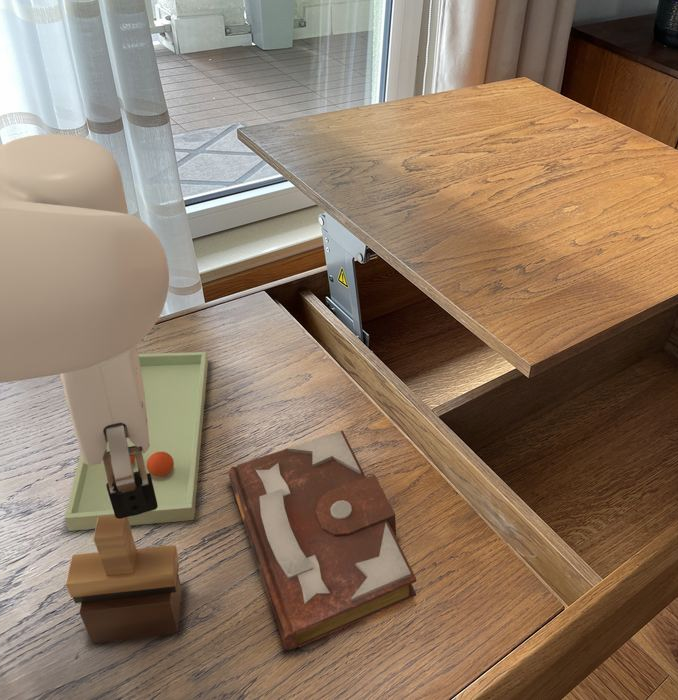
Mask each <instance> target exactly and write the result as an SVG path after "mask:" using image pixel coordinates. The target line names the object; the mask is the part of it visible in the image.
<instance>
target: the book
mask: <svg viewBox="0 0 678 700" xmlns="http://www.w3.org/2000/svg"><path fill="white" fill-rule="evenodd" d="M227 475H228V479H229V482H230V485H231V488H232V491H233V494H234V498H235V500H236V504H237V506H238V509H239V512H240V515H241V518H242V521H243V525H244V528H245V530H246V534H247V536H248V540H249V543H250V545H251V549H252V552H253V555H254V558H255V561H256V564H257V567H258V570H259V573H260V576H261V579H262V582H263V585H264V588H265V591H266V595H267V598H268V600H269V603H270V606H271V610H272V612H273V615H274V619H275V622H276V624H277V627H278V630H279V633H280V636H281V639H282V643H283V646H284V648H285V650H286V651H293V650H295V649H296V648H301V647H303V646H305V645H308V644H310V643H312V642H315V641H317V640H320V639H321V638H323V637H326V636H329V635H331V634H332V633H335V632H337V631H339V630H342V629H344V628H346V627H348V626H350V625H353V624H355V623H357V622H359V621H362V620H364V619H367V618H368V617H371V616H374V615H375V614H377V613H381V612H383V611H385V610H387V609H389V608H391V607H394V606H396V605H398V604H401V603H403V602H405V601H407V600H409V599H412V598H414V597H416V596H417V592H416V590H415V588H414V586H413V584H414V583H416V582H417V577H416V575H415V573H414V571H413V568H412V567H411V565H410V563H409V561H408V559H407V557H406V555H405V553H404V551H403V549H402V546H401V545H400V543H399V541H398V539H397V529H396V526H397V525H396V524H397V523H396V513H395V511H394V509H393V507H392V505H391V503H390V501H389V499H388V497H387V495H386V493H385V491H384V490H383V488H382V486H381V484H380V482H379V480H378V478H377V476H376V474H372V475H369V476H366V475H365V473H364V471H363V469H362V466H361V464H360V462H359V461H358V459H357V457H356V454H355V453H354V450H353V448H352V446H351V444H350V441H348V438H347V437H346V434H345V432H344V430H340V431H336V432H333V433H331V434H327V435H323V436H321V437H318V438H315V439H312V440H309V441H306V442H302V443H300V444H297V445H294V446H290V447H287V448H285V449H282V450H278V451H275V452H272V453H269V454H267V455H263V456H260V457H257V458H254V459H251V460H248V461H245V462H242V463H238V464H237V465H236V466H232V467H231V468H229V470H228V472H227Z"/></svg>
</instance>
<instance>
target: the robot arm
mask: <svg viewBox="0 0 678 700" xmlns="http://www.w3.org/2000/svg"><path fill="white" fill-rule="evenodd" d="M125 193H126V192H125V188H124V183H123V179H122V174H121V171H120V166H119V165H118V162H117V160H116V158H114V155H113V154H112V153H111V152H110V151H109V150H108V149H107V148H106V147H105V146H103V145H102V144H100V143H98V142H96V141H94V140H92V139H89V138H87V137H85V136H79V135H74V134H67V133H43V134H33V135H28V136H24V137H19V138H15V139H13V140H11V141H8V142H6V143H4V144H2V145H1V146H0V384H5V383H11V382H12V383H13V382H17V381H27V380H33V379H38V378H39V379H40V378H45V377H50V376H51V377H52V376H57V375H59V377H60V383H61V386H62V389H63V394H64V398H65V401H66V405H67V408H68V412H69V416H70V419H71V424H72V427H73V430H74V433H75V438H76V441H77V445H78V449H79V454H81V457H82V461H83V462H84V463H85V464H87V465H89V466H92V465H95V464H100V463H101V462H102V459H103V462H104V466H105V471H106V476H107V480H108V483H107V484H106V486H107V491H108V494H109V497H110V501H111V504H112V507H113V511H114V514H115V517H116V518H118V519H121V518H125V517H129V516H135V515H139V514H142V513H144V512H148V511H152V510H155V509H157V507H158V505H157V500H156V496H155V491H154V487H153V483H152V478H151V474H150V473H149V474H147V473H146V468H145V463H144V459H143V454H144V453H145V452H146V451H147V450H148V449H149V447H150V443H149V431H148V420H147V409H146V401H145V392H144V386H143V379H142V373H141V367H140V361H139V356H138V354H139V350H138V348H137V347H138V346H137V344H139V343H140V342H141V341H143V339H144V338H145V337H146V336H148V334H149V333H150V332H151V331H152V329H153V328H154V327H155V325H156V323H158V321H159V318H160V316H161V314H162V312H163V310H164V307H165V304H166V303H167V302H166V301H167V297H168V293H169V286H170V285H169V284H170V271H169V270H170V269H169V264H168V263H169V262H168V259H167V255H166V251H165V249H164V246H163V244H162V242H161V241H160V239H159V237H158V235H157V234H156V233H155V231H154V230H153V229H152V228H151V227H150V226H149V225H148V223H146V222H145V221H143V220H142V219H140V217H139V218H138V217H137V216H135V215H132V214H130V213H129V210H128V209H129V208H128V204H127V199H126V194H125ZM127 438H129V439H130V441H131V442H132V443H133V444H135V446H131V447H128V443H127ZM107 442H108V444H109V450H110V451H109V452H108V450H107ZM142 451H143V454H142ZM132 455H135V458H136V462H137V467H138V471H137V472H133V468H132V464H131V459H130V456H132Z"/></svg>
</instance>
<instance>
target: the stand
mask: <svg viewBox="0 0 678 700" xmlns="http://www.w3.org/2000/svg"><path fill="white" fill-rule="evenodd" d="M182 594H183V589H182V584H181V580H180V575H179V574H178V580H177V590H176V592H174V593H165V594H156V595H147V596H138V597H129V598H120V599H111V600H101V601H92V602H83V603H80V606H79V616H80V618H81V620H82V623H83V625H84V628H85V630H86V632H87V635H88V637H89V639H90V642H91V644H101V643H109V642H116V641H117V642H119V641H126V640H133V639H141V638H142V639H143V638H149V637H150V638H151V637H157V636H167V635H174V634H178V633H179V625H180V614H181V604H182Z"/></svg>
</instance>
